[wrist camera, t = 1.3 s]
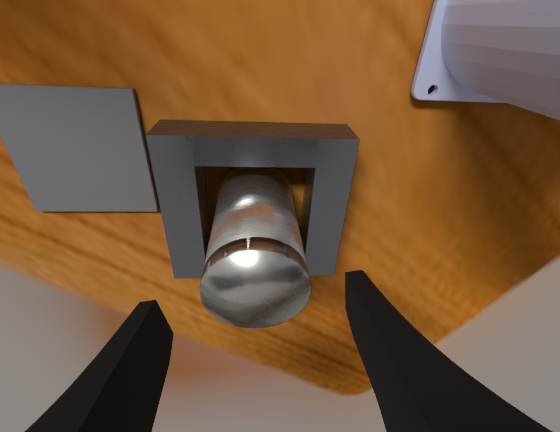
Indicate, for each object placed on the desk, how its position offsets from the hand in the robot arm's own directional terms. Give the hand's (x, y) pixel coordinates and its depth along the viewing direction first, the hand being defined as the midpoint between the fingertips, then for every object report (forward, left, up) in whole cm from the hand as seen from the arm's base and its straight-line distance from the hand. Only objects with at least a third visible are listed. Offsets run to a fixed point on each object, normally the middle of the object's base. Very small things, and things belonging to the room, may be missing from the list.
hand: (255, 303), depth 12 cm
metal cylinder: (0, 0, -9) cm, 9 cm away
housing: (0, 0, -9) cm, 9 cm away
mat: (+9, -3, -9) cm, 13 cm away
